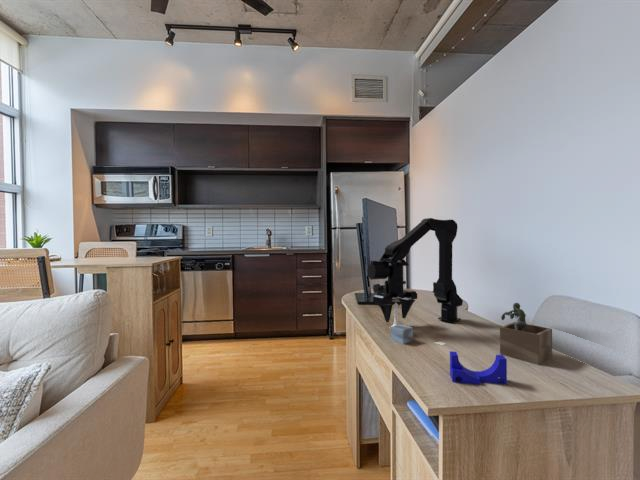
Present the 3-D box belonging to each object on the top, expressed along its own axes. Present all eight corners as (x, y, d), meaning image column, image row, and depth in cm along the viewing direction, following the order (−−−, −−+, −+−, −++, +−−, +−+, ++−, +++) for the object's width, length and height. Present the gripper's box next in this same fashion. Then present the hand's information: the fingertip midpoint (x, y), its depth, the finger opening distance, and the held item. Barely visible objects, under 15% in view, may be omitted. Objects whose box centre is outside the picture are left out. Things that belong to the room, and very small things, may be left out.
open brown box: (515, 347, 102) (515, 321, 102) (552, 356, 94) (552, 328, 94) (500, 354, 96) (499, 327, 96) (538, 365, 88) (538, 335, 88)
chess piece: (387, 327, 125) (387, 301, 125) (400, 327, 126) (400, 301, 126) (391, 331, 120) (391, 304, 120) (404, 331, 121) (404, 303, 121)
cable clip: (452, 383, 78) (452, 357, 78) (449, 375, 83) (449, 351, 83) (508, 388, 75) (508, 361, 75) (503, 379, 80) (502, 355, 80)
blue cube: (400, 339, 112) (400, 324, 112) (412, 342, 108) (412, 327, 108) (390, 342, 109) (390, 326, 109) (402, 346, 105) (402, 330, 105)
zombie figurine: (516, 355, 100) (513, 305, 105) (533, 355, 93) (529, 302, 98) (500, 352, 99) (498, 302, 104) (516, 352, 93) (513, 299, 98)
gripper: (395, 274, 135) (395, 312, 135) (362, 278, 124) (362, 319, 124) (418, 276, 126) (418, 317, 126) (384, 281, 115) (384, 326, 115)
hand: (395, 320), depth 123 cm, fingers open, 9 cm apart
